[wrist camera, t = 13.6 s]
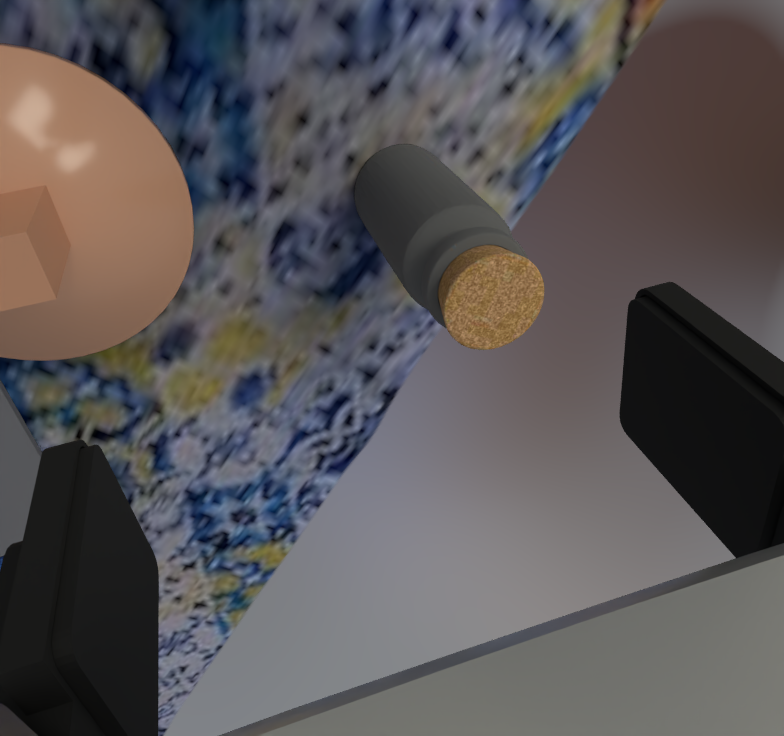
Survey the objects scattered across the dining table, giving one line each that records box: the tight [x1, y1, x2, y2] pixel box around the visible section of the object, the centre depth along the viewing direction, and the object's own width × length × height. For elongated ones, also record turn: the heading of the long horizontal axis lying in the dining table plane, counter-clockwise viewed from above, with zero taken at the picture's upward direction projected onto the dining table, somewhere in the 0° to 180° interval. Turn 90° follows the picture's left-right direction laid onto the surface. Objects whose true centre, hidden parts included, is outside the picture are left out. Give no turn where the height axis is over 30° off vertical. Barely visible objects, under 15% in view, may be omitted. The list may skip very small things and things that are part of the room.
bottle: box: [354, 144, 544, 350], centre depth 36 cm, size 6×6×15 cm
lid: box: [0, 43, 194, 361], centre depth 32 cm, size 16×16×7 cm
